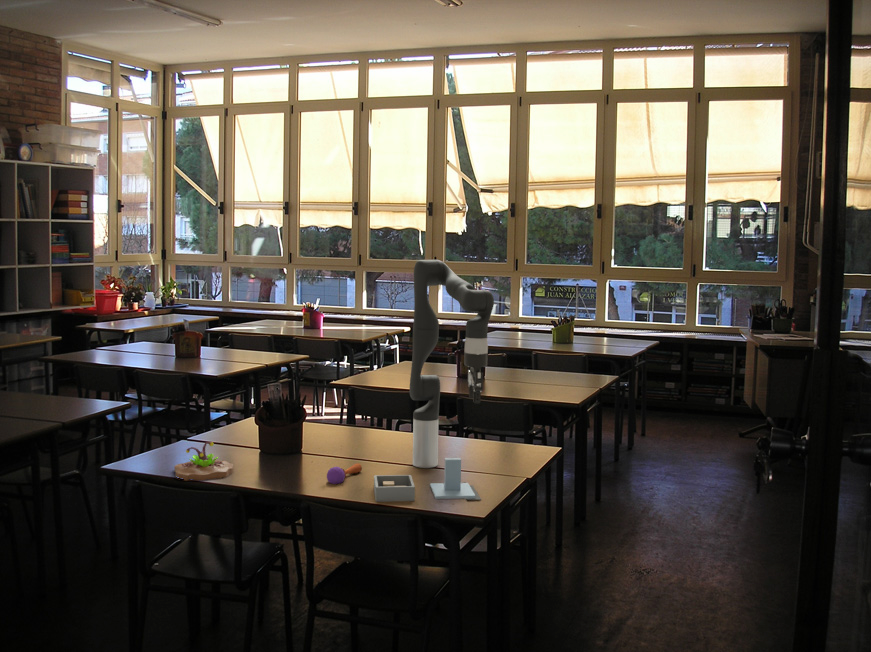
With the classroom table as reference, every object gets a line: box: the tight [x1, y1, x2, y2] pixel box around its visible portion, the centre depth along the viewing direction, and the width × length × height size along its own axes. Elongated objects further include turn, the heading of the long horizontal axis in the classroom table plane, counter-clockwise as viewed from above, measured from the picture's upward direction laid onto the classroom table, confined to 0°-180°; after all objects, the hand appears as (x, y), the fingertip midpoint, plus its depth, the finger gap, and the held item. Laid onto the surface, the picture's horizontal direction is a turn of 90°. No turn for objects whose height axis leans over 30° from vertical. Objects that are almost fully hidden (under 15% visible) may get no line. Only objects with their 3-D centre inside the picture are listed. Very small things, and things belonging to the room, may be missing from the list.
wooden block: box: [383, 481, 394, 487], centre depth 256 cm, size 4×4×3 cm
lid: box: [429, 457, 475, 500], centre depth 257 cm, size 15×13×11 cm
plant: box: [173, 441, 234, 481], centre depth 278 cm, size 20×20×11 cm
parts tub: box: [373, 474, 416, 503], centre depth 253 cm, size 14×12×5 cm
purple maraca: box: [326, 463, 363, 485], centre depth 273 cm, size 6×6×20 cm
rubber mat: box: [465, 484, 482, 501], centre depth 258 cm, size 16×14×1 cm
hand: (474, 400), depth 261 cm, fingers open, 8 cm apart
